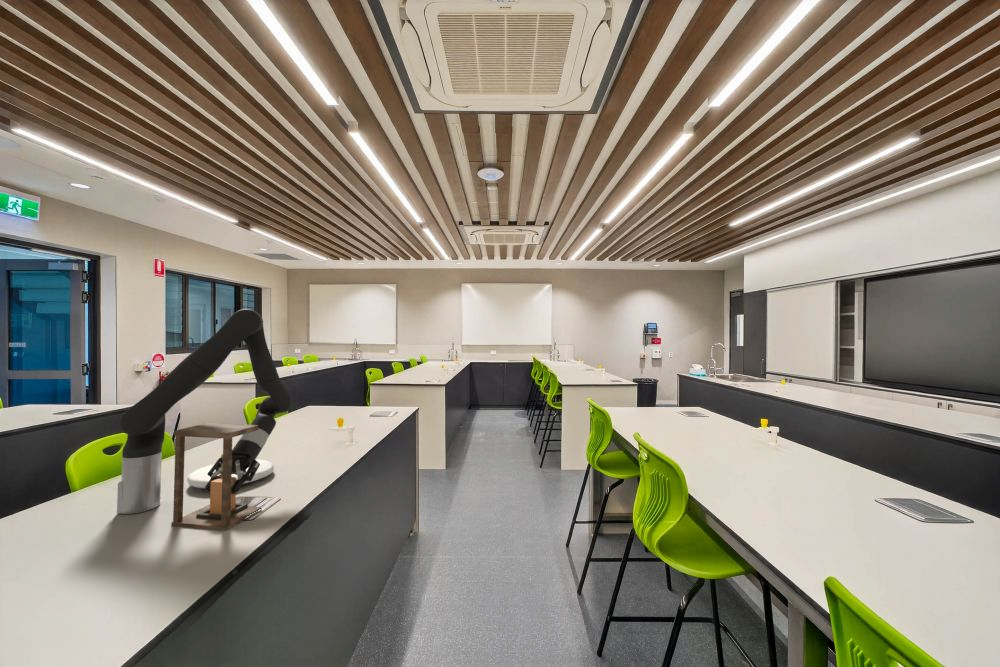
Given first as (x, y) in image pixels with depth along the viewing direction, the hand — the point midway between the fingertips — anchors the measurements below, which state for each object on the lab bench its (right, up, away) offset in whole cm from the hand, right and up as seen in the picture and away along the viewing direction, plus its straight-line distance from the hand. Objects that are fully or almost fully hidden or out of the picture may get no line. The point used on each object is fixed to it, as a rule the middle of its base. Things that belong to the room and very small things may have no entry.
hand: (219, 492), depth 115 cm
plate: (-18, -9, +31) cm, 36 cm away
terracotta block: (0, -7, +1) cm, 7 cm away
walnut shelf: (0, -8, 0) cm, 8 cm away
